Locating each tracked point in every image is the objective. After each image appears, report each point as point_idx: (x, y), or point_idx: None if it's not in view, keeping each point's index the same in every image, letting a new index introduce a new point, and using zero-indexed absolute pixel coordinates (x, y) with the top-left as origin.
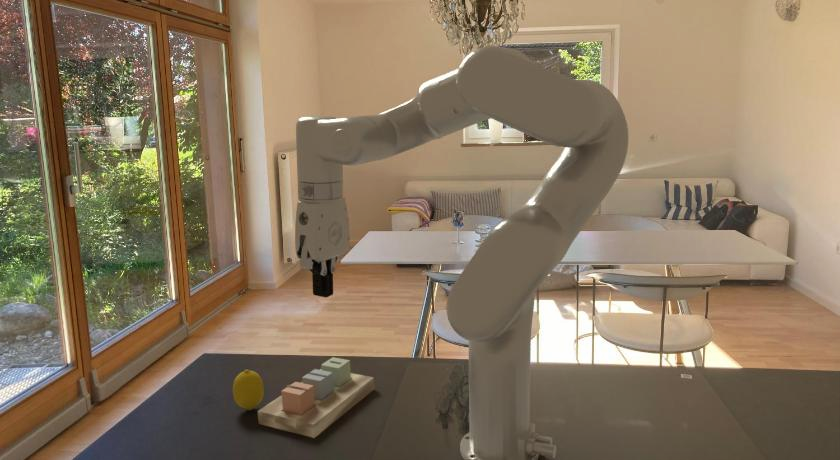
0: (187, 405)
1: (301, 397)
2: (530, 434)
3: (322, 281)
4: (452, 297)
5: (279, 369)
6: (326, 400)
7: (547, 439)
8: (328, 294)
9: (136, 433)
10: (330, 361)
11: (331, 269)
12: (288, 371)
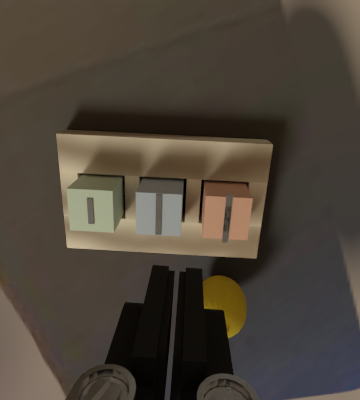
0: (234, 362)
1: (247, 195)
2: None
3: (216, 354)
4: None
5: (80, 318)
6: (181, 171)
7: None
8: (196, 272)
9: (321, 370)
10: (92, 222)
11: (118, 394)
12: (79, 302)
